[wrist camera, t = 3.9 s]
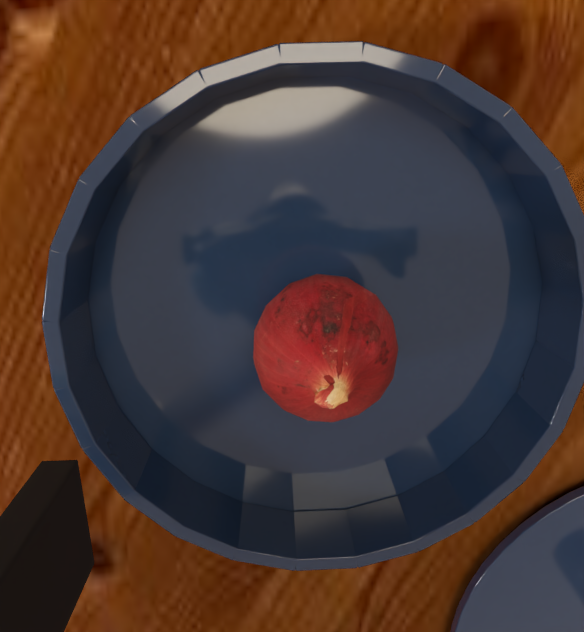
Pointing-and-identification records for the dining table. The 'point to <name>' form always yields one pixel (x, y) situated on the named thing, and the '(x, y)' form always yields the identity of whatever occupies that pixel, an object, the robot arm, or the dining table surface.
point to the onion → (325, 348)
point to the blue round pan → (301, 262)
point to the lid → (531, 576)
